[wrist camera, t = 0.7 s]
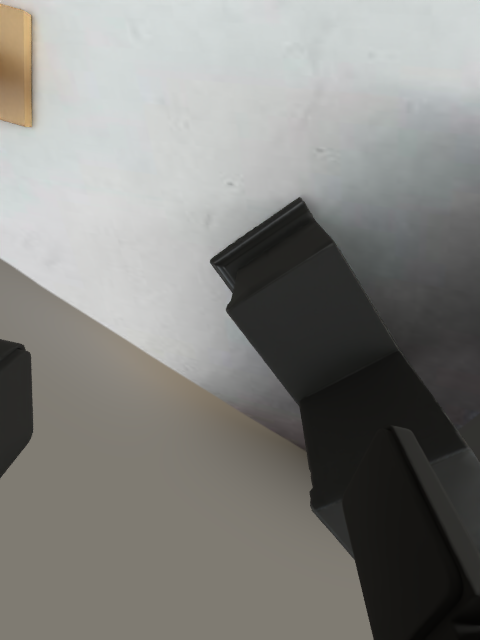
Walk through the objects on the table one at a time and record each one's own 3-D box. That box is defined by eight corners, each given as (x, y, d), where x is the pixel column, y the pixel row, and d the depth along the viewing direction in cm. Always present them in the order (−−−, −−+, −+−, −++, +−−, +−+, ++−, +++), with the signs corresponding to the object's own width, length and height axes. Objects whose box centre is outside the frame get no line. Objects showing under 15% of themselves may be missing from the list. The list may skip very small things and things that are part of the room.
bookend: (208, 259, 35) (133, 416, 14) (301, 193, 32) (386, 268, 11) (323, 413, 43) (389, 668, 22) (408, 372, 40) (580, 621, 19)
